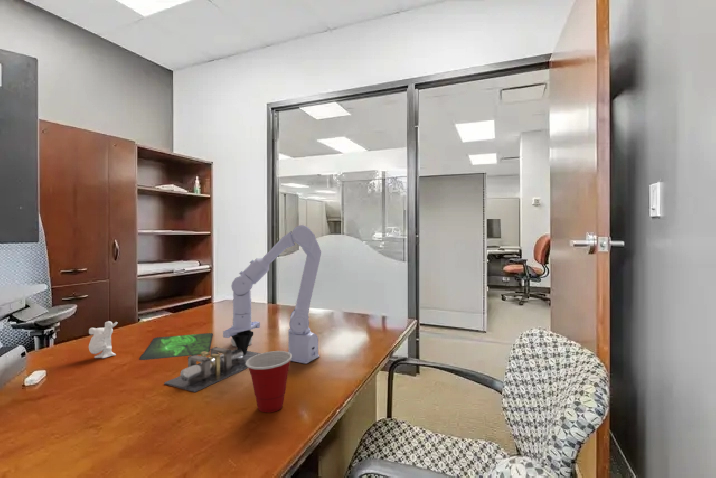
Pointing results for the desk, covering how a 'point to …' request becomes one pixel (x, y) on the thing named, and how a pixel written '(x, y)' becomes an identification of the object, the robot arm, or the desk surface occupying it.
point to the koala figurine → (102, 340)
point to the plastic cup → (269, 378)
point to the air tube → (197, 369)
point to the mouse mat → (178, 346)
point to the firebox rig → (213, 375)
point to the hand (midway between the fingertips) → (242, 354)
